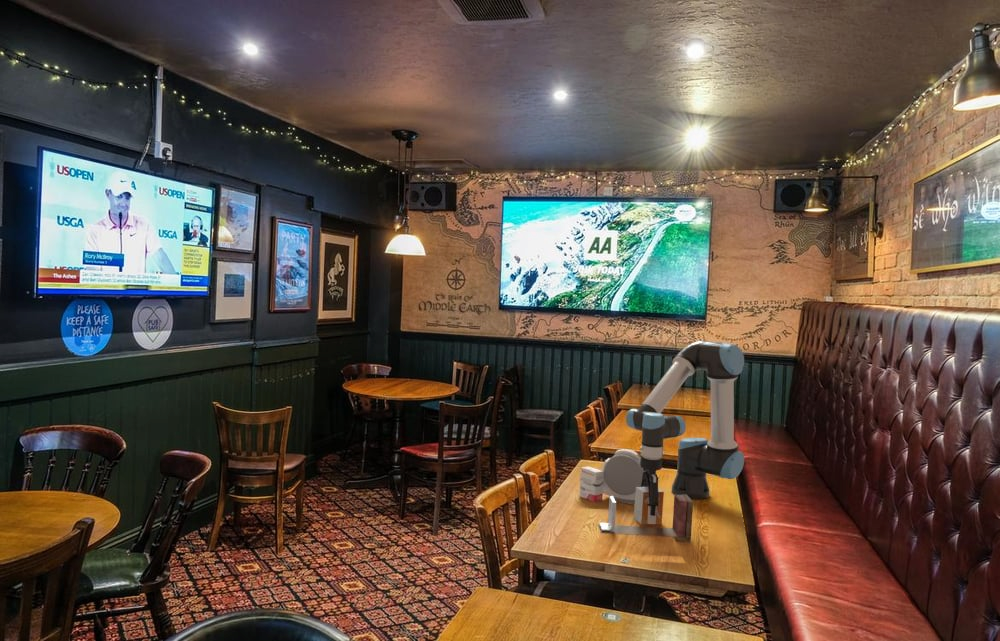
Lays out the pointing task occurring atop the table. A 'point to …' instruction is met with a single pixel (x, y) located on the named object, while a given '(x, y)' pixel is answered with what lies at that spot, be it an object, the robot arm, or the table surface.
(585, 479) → the ink box
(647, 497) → the small box
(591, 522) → the table surface
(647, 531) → the book board
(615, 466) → the alarm clock
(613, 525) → the bookend
